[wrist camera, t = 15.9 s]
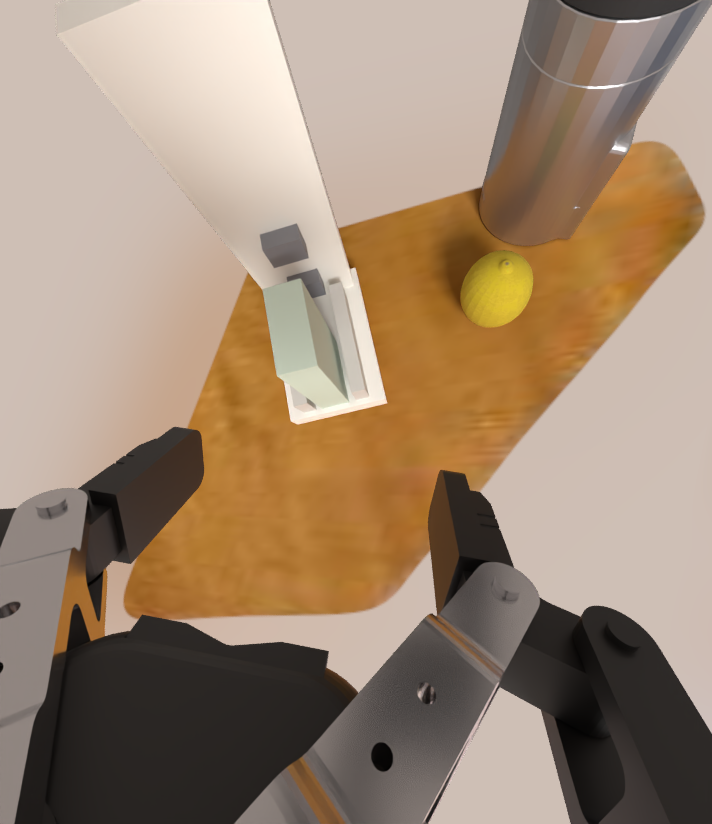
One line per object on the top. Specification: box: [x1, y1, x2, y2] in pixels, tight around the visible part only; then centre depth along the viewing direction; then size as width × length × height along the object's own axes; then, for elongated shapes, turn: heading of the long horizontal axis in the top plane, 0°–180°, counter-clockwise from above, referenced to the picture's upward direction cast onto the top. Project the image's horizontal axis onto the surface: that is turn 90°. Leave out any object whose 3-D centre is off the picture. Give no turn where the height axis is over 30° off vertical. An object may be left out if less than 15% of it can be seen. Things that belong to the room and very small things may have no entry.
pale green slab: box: [263, 278, 349, 409], centre depth 27 cm, size 7×3×11 cm, turn 12°
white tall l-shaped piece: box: [55, 0, 387, 424], centre depth 23 cm, size 14×9×24 cm, turn 12°
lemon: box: [460, 250, 533, 328], centre depth 29 cm, size 6×6×8 cm
